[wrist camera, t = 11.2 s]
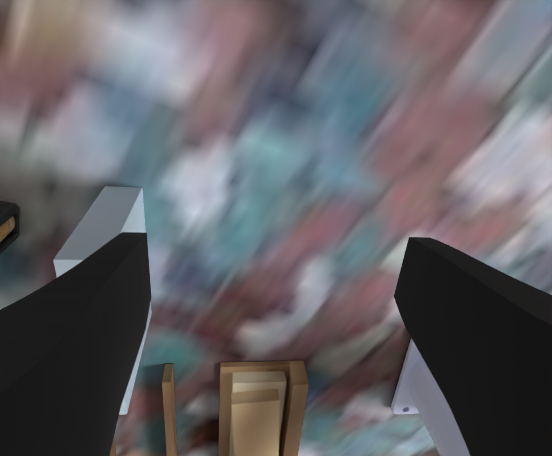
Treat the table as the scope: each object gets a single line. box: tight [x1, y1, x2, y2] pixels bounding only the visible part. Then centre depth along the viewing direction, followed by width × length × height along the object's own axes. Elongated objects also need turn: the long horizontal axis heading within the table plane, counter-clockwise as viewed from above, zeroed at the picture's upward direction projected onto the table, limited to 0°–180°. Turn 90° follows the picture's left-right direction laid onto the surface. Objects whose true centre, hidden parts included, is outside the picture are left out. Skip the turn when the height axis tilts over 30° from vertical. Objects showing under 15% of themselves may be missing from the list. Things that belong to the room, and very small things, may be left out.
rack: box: [110, 360, 309, 456], centre depth 28 cm, size 14×14×2 cm
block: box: [53, 186, 152, 415], centre depth 19 cm, size 2×8×7 cm, turn 176°
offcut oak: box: [231, 389, 280, 456], centre depth 28 cm, size 3×8×1 cm, turn 0°
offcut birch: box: [229, 371, 286, 456], centre depth 29 cm, size 3×10×1 cm, turn 176°
